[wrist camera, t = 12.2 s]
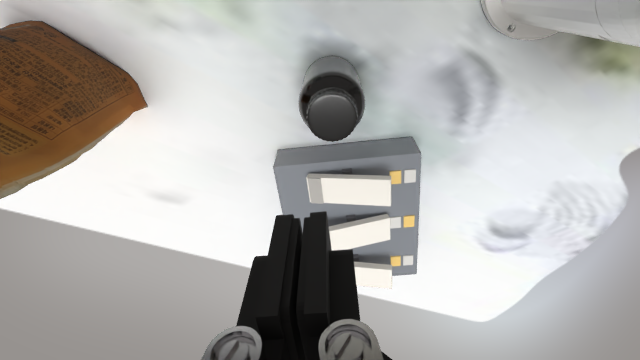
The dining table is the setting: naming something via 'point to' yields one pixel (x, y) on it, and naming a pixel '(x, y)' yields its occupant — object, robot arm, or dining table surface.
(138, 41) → the dining table surface
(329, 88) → the supplement bottle
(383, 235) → the rocker
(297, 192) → the console
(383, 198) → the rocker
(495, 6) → the robot arm
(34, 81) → the pancake mix bag
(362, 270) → the rocker
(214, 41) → the dining table surface
